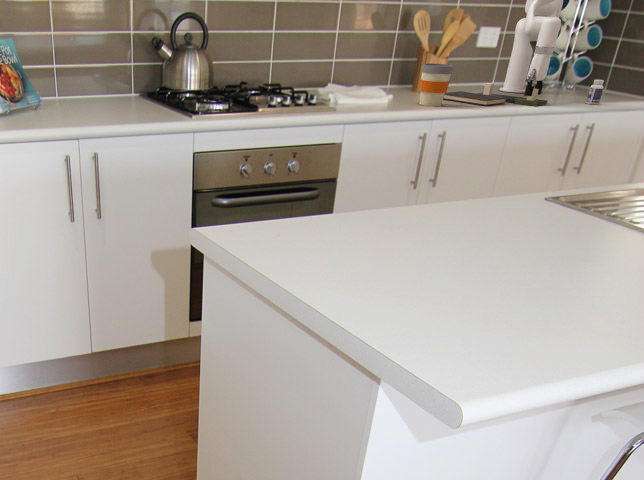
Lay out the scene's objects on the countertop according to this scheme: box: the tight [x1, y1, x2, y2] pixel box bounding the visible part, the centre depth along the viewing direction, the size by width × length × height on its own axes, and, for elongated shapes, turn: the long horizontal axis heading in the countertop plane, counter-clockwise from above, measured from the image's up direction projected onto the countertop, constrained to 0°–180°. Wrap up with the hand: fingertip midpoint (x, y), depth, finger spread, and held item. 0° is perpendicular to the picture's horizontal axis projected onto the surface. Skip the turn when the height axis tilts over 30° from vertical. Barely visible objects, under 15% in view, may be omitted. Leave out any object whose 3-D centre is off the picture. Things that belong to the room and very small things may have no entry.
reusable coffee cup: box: [419, 62, 454, 107], centre depth 305 cm, size 13×13×15 cm
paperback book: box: [443, 90, 507, 107], centre depth 321 cm, size 16×23×2 cm
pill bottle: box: [585, 79, 605, 106], centre depth 327 cm, size 5×5×10 cm
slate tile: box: [475, 82, 504, 97], centre depth 331 cm, size 12×13×6 cm
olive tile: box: [513, 88, 548, 107], centre depth 321 cm, size 12×13×6 cm
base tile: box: [497, 94, 524, 104], centre depth 328 cm, size 12×10×2 cm
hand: (532, 95), depth 320 cm, fingers open, 9 cm apart
